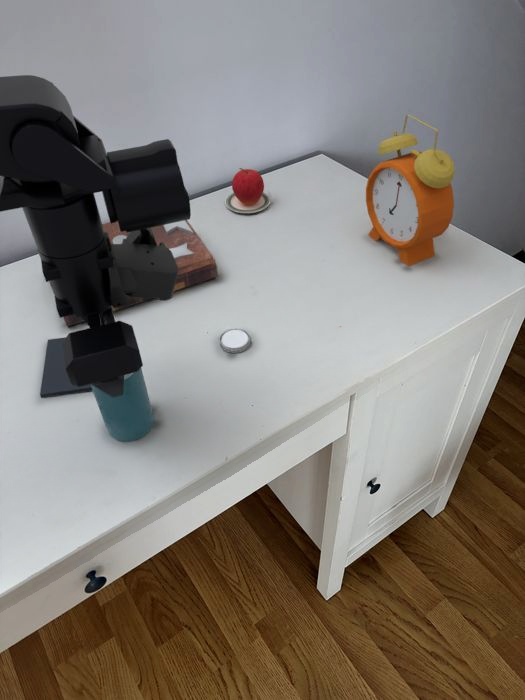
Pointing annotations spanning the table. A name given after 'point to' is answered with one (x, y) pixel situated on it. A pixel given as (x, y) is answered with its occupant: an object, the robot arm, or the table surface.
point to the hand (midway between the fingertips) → (110, 364)
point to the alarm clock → (410, 197)
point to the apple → (247, 193)
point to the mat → (57, 372)
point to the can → (127, 409)
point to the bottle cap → (235, 340)
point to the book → (185, 250)
